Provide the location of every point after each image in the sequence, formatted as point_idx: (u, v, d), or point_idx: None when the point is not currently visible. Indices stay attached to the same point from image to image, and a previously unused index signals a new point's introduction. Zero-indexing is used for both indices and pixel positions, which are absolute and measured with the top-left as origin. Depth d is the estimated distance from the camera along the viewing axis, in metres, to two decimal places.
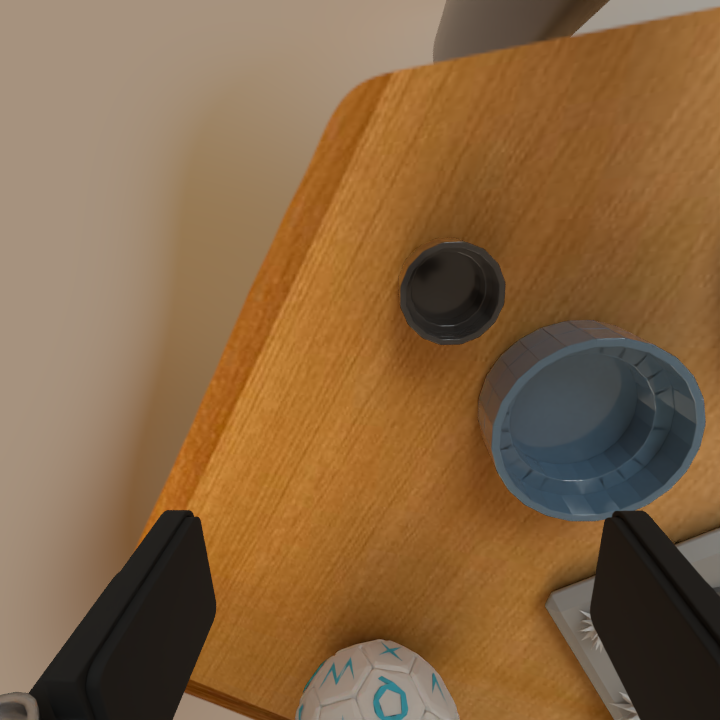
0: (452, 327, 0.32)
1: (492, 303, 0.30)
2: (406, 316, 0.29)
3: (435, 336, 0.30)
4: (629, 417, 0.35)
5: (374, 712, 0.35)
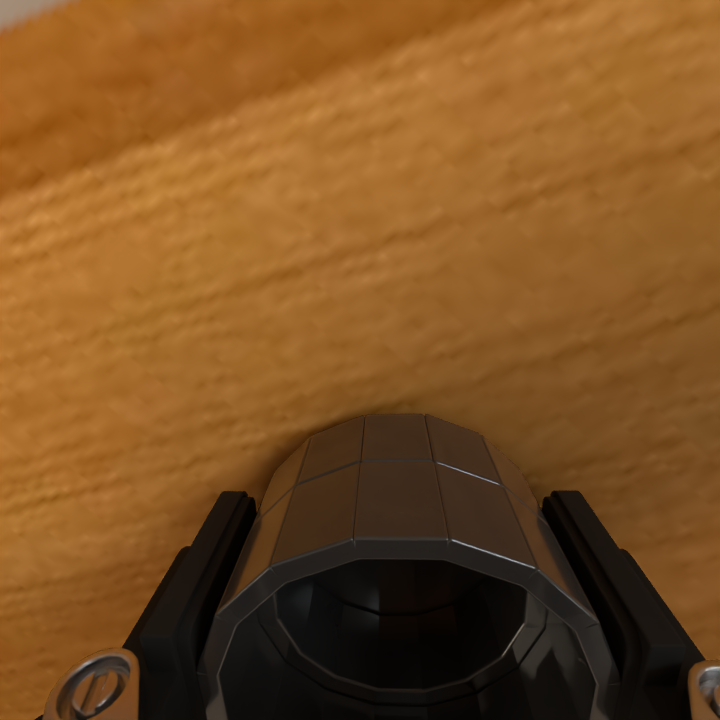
0: (326, 675, 0.10)
1: None
2: (209, 650, 0.07)
3: None
4: None
5: None
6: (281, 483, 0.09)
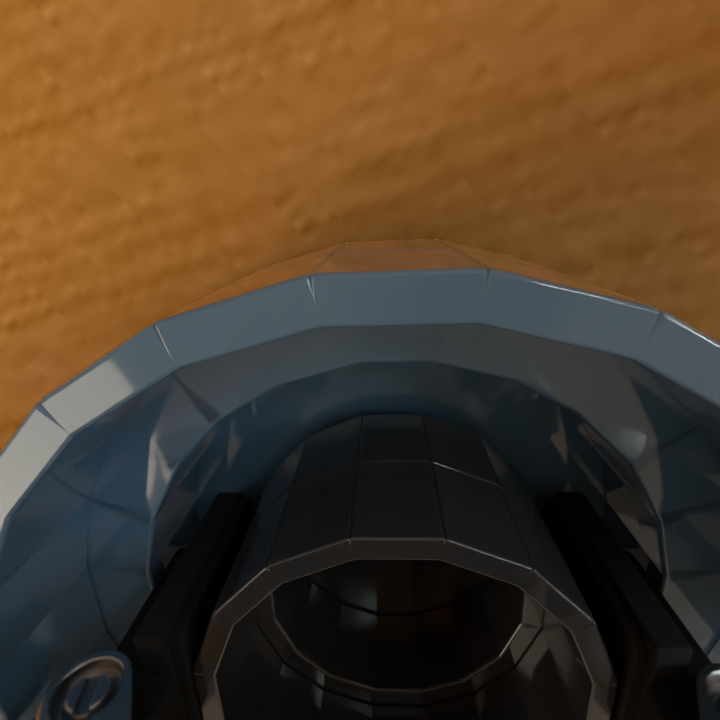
0: (324, 675, 0.10)
1: None
2: (206, 650, 0.07)
3: None
4: None
5: None
6: (278, 483, 0.09)
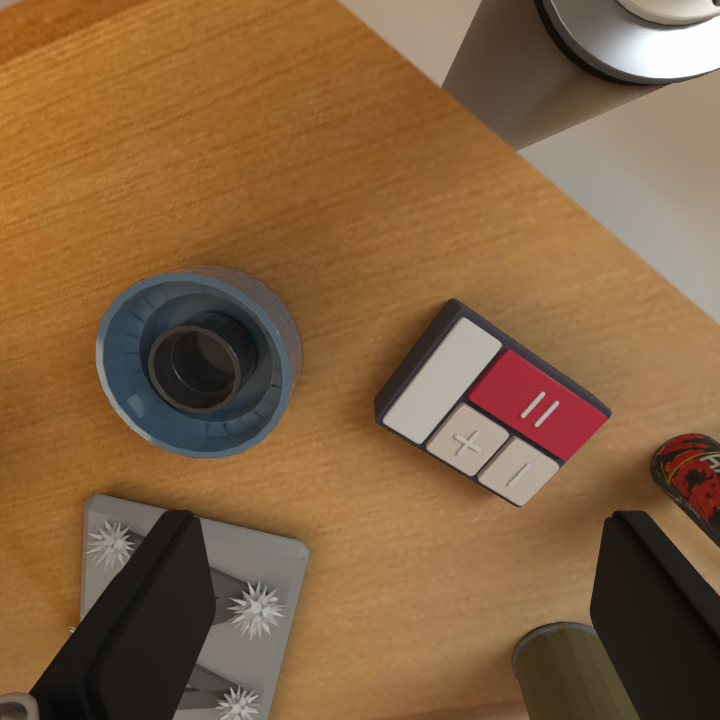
0: (189, 388, 0.35)
1: (223, 398, 0.34)
2: (150, 356, 0.32)
3: (162, 387, 0.33)
4: (255, 397, 0.37)
5: None
6: None
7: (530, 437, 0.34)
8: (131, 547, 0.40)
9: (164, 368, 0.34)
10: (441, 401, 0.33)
